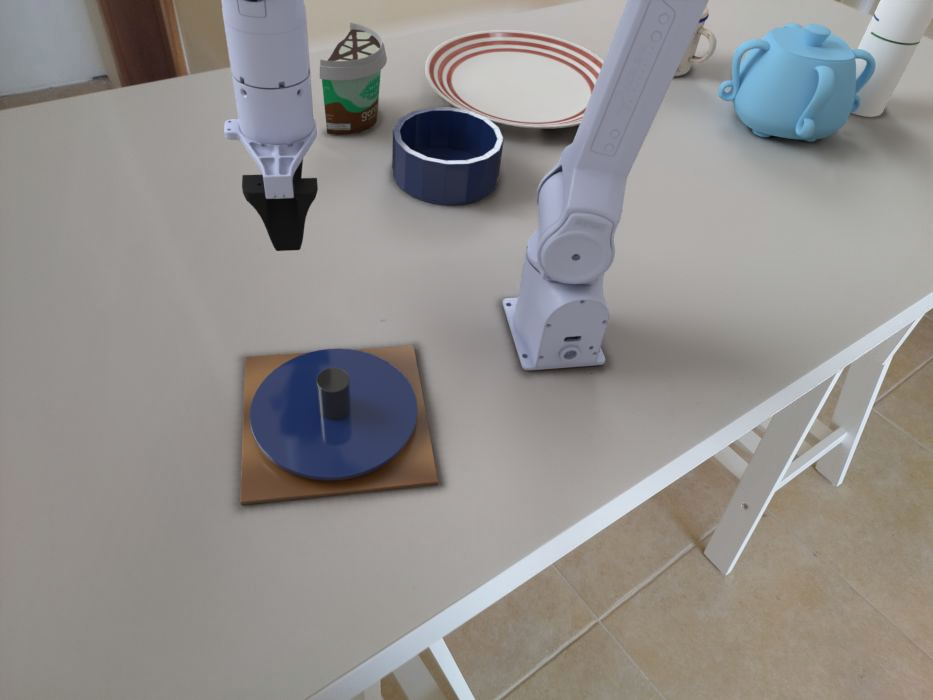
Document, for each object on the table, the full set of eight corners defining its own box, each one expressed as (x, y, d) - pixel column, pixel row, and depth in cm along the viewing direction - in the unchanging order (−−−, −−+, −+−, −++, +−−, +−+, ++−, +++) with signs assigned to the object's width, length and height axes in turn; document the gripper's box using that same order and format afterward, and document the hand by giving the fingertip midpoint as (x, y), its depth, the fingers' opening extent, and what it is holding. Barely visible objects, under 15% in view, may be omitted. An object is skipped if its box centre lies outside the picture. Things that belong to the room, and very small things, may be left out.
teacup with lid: (622, 61, 115) (641, -17, 107) (653, 46, 120) (674, -29, 112) (687, 91, 110) (713, 11, 101) (718, 74, 115) (744, -3, 106)
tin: (507, 203, 86) (513, 162, 82) (399, 206, 83) (400, 165, 79) (486, 145, 94) (490, 106, 90) (387, 147, 92) (388, 107, 88)
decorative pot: (789, 166, 97) (836, 66, 87) (697, 111, 106) (731, 14, 96) (858, 136, 105) (908, 41, 95) (767, 86, 113) (805, -5, 103)
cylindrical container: (872, 95, 114) (964, -84, 96) (889, 118, 109) (990, -67, 91) (827, 91, 114) (911, -90, 96) (843, 114, 109) (934, -72, 91)
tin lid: (416, 357, 67) (418, 321, 63) (418, 485, 57) (420, 450, 54) (262, 355, 65) (256, 318, 62) (239, 485, 56) (230, 449, 53)
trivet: (437, 484, 58) (438, 481, 58) (240, 504, 55) (239, 502, 55) (413, 348, 68) (413, 345, 68) (245, 359, 65) (245, 356, 65)
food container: (370, 148, 91) (370, 71, 84) (323, 139, 92) (318, 61, 85) (397, 102, 100) (398, 28, 93) (353, 94, 100) (351, 20, 93)
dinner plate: (624, 155, 95) (630, 132, 93) (413, 132, 95) (414, 108, 92) (608, 61, 114) (613, 40, 112) (433, 42, 114) (435, 20, 112)
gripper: (220, 29, 59) (242, 175, 69) (209, 121, 49) (237, 276, 59) (309, 30, 60) (319, 173, 70) (316, 120, 50) (326, 272, 60)
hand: (287, 220), depth 64 cm, fingers open, 7 cm apart
